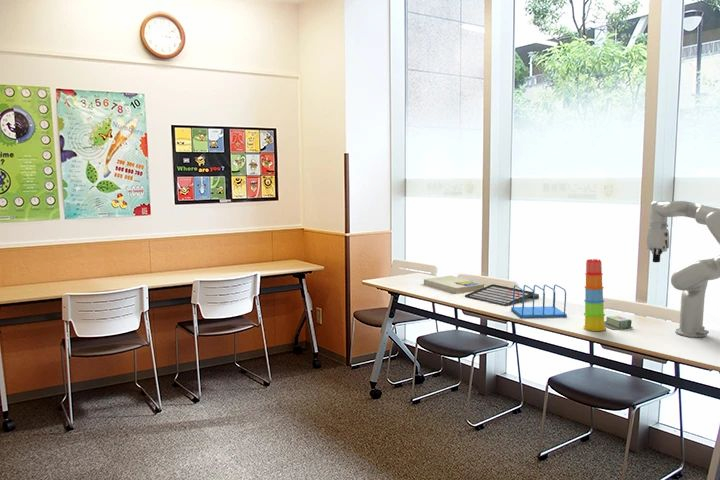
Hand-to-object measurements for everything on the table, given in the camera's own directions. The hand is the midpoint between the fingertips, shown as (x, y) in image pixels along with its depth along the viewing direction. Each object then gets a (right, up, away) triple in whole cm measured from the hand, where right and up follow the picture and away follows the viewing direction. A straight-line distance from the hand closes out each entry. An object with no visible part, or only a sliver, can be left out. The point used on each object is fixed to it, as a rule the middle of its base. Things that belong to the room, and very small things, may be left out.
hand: (656, 261), depth 288 cm
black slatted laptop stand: (-61, -25, +67) cm, 94 cm away
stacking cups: (-32, -33, -3) cm, 47 cm away
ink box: (-17, -31, -4) cm, 36 cm away
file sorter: (-51, -30, +28) cm, 65 cm away
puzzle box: (-86, -22, +100) cm, 134 cm away
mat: (-21, -32, +2) cm, 38 cm away
